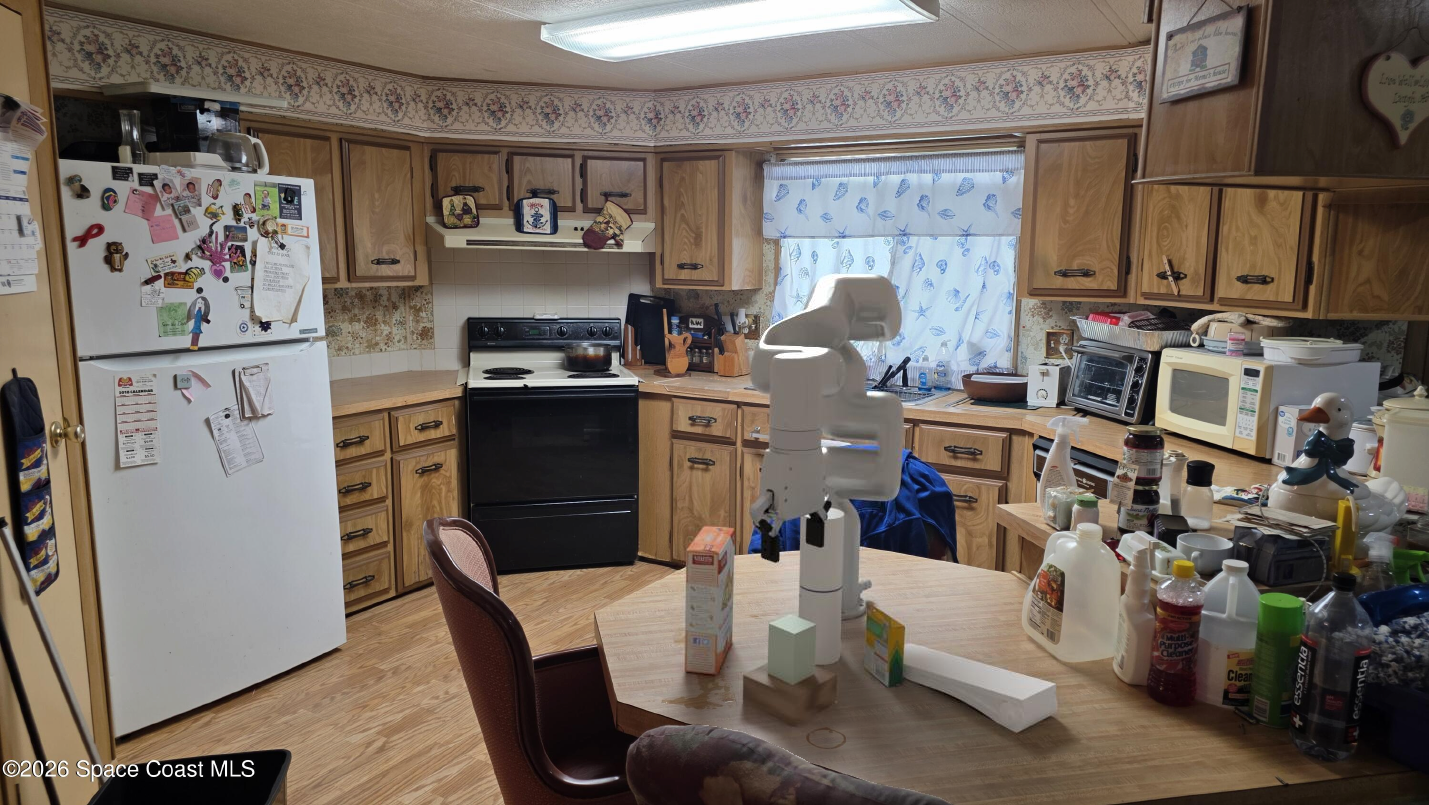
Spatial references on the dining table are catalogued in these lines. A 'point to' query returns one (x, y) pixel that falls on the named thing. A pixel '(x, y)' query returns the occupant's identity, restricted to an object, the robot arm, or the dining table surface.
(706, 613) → the cracker box
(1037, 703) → the white arched block
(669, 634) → the dining table surface
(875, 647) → the crayon box
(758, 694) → the walnut block
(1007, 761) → the dining table surface
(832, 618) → the cylindrical container
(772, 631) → the sage block
